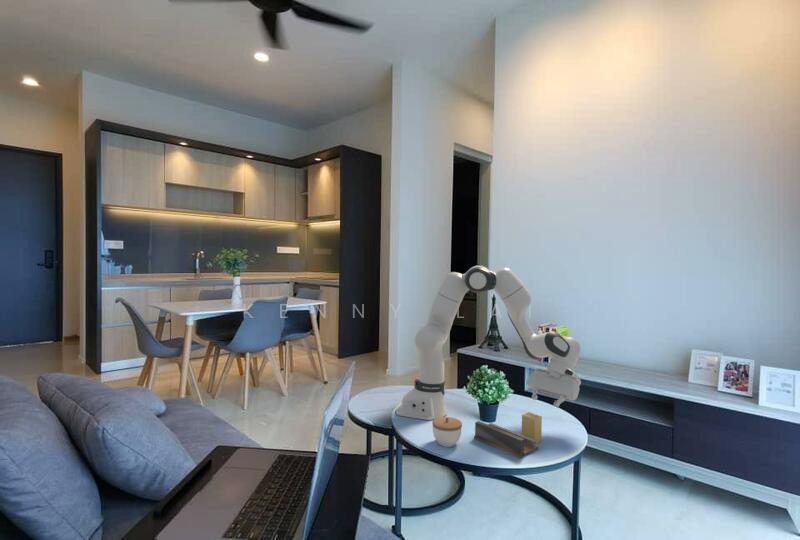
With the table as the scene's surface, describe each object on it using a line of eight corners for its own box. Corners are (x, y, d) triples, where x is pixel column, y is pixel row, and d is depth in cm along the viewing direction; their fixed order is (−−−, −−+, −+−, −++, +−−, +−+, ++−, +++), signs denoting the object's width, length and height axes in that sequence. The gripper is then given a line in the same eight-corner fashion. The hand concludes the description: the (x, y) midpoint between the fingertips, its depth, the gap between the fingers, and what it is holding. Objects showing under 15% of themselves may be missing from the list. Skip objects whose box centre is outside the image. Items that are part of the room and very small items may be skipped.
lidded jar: (455, 452, 141) (455, 425, 141) (427, 445, 146) (427, 419, 146) (465, 440, 150) (466, 415, 150) (439, 434, 155) (439, 410, 155)
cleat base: (492, 431, 159) (492, 415, 159) (538, 449, 144) (538, 432, 144) (474, 438, 152) (474, 422, 152) (519, 458, 137) (520, 441, 137)
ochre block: (528, 435, 156) (528, 412, 155) (541, 440, 151) (541, 416, 151) (521, 438, 153) (522, 414, 153) (534, 443, 149) (535, 419, 148)
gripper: (532, 363, 170) (518, 391, 164) (579, 374, 154) (566, 405, 148) (538, 372, 173) (524, 399, 167) (585, 383, 157) (572, 414, 151)
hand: (544, 402), depth 157 cm, fingers open, 8 cm apart
